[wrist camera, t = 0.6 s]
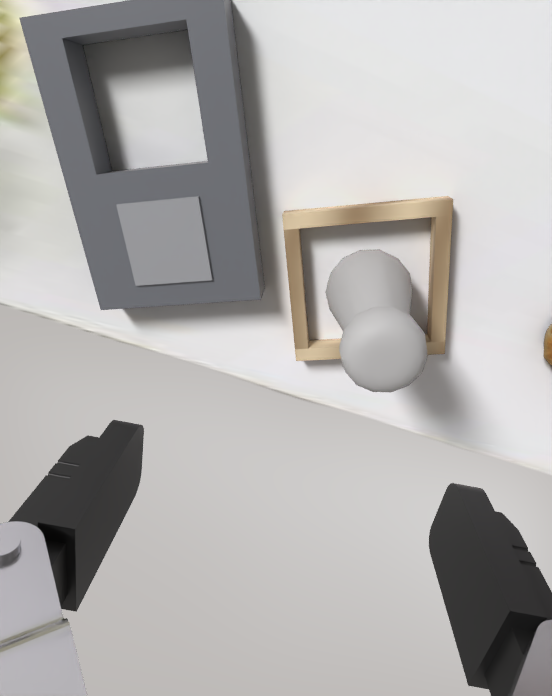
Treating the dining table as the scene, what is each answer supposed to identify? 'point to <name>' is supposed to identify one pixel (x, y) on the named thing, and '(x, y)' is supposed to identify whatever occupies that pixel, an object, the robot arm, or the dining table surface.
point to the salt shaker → (376, 321)
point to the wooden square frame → (367, 213)
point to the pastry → (548, 345)
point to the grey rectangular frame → (154, 182)
